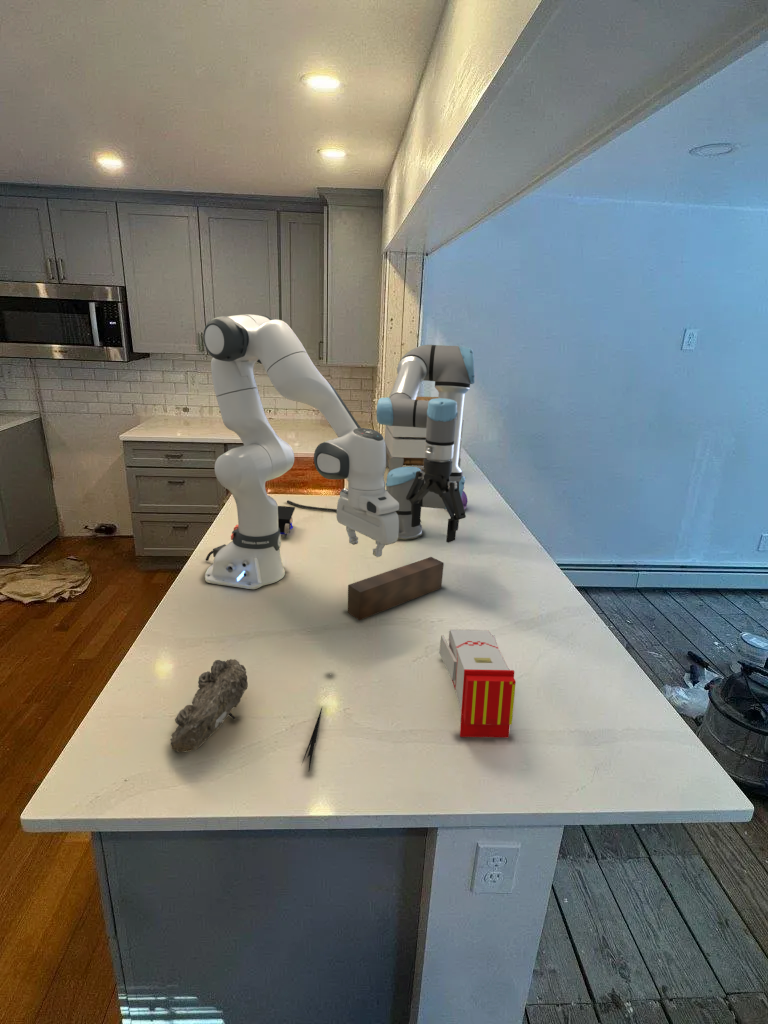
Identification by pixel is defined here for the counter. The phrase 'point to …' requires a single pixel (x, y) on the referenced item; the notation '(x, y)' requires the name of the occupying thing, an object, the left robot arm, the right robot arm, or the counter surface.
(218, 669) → the fossil
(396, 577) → the walnut beam
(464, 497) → the figurine
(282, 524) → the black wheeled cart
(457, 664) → the toy
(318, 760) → the counter surface
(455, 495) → the right robot arm
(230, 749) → the counter surface
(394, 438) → the transformer
